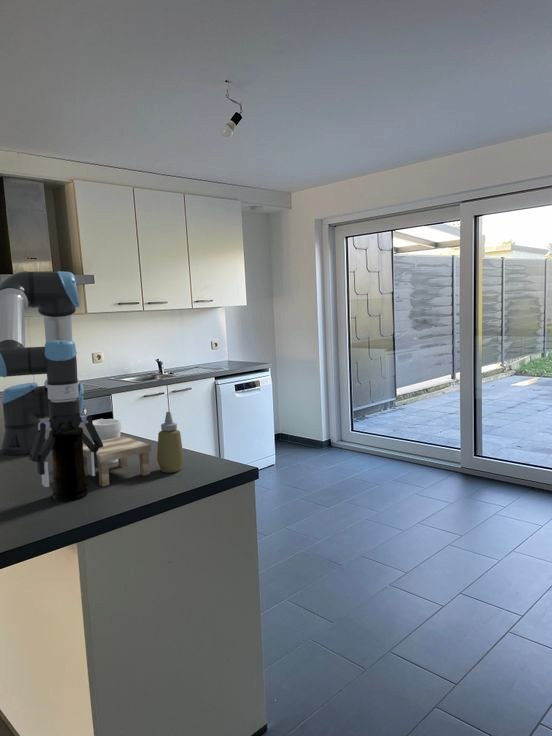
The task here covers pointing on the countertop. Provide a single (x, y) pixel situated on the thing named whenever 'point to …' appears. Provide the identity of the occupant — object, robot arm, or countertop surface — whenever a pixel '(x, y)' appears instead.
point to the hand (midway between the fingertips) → (69, 480)
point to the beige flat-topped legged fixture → (118, 456)
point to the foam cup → (108, 430)
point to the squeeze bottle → (169, 446)
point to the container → (68, 465)
